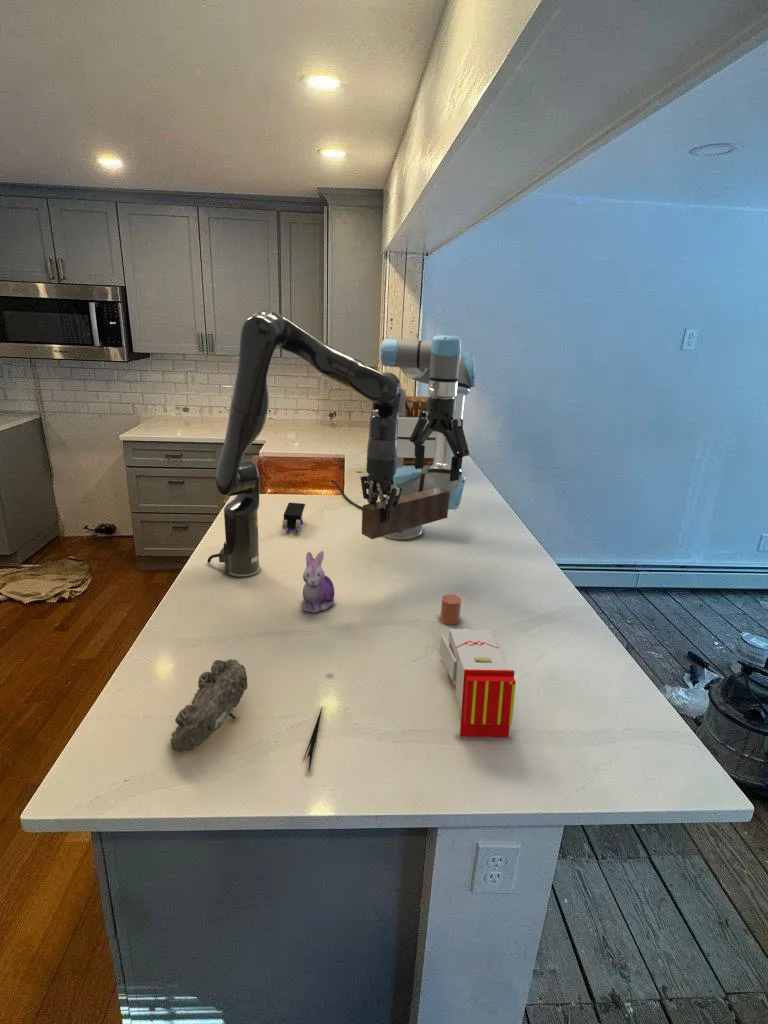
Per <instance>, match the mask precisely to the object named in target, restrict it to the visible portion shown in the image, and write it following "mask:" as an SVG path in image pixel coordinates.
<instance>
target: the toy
mask: <svg viewBox="0 0 768 1024" xmlns="http://www.w3.org/2000/svg"><path fill="white" fill-rule="evenodd" d="M438 654H439V656H440V658H441V660H442V662H443V665H444V666H445V668H446V671H447V673H448V675H449V677H450V681H451V683H452V685H453V689H454V690H455V695H456V698H457V702H458V705H459V708H460V726H459V737H460V738H509V737H510V728H511V727H510V726H512V725H513V717H514V706H515V705H514V704H515V693H516V684H517V683H516V679H515V670H514V669H510V667H509V666H508V663H507V662H506V660H505V658H504V655H503V654H502V652H501V650H500V648H499V644H498V642H497V638H496V635H495V634H492V632H491V631H490V629H467V628H466V629H465V628H463V629H461V628H460V629H459V628H450V629H449V631H448V641H447V639H446V638H445V636H444V634H443V635H442V634H441V635H440V641H439V651H438Z"/></svg>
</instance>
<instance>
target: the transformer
mask: <svg viewBox="0 0 768 1024" xmlns="http://www.w3.org/2000/svg"><path fill="white" fill-rule="evenodd" d="M429 397H430V396H416V395H414V396H413V395H410V396H409V395H407V393H406V390H405V389H404V388H402V387H401V395H400V403H399V410H398V430H397V466H396V468H400V467H415V458H416V456H415V445H414V443H413V442H410V437H411V435H412V433H413V431H414V428H415V426H416V424H417V422H418V420H419V414H420V412H422V411H428V410H427V402H428V398H429ZM428 412H429V411H428ZM463 422H464V419H463ZM428 423H429V421H427V423H426V425H427V424H428ZM426 425H425V426H426ZM424 429H425V427H424ZM435 439H436V431H433V432H432V433H431V434H430V436H429V437H428V438H427V439H426V441H425V442H424V443H423V444H422V445H424V446H425V453H424V467H426V466H427V467H430V466H431V465H432V464H433V459H434V449H435Z"/></svg>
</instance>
